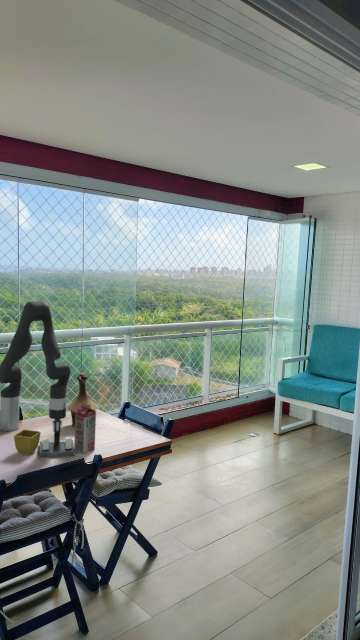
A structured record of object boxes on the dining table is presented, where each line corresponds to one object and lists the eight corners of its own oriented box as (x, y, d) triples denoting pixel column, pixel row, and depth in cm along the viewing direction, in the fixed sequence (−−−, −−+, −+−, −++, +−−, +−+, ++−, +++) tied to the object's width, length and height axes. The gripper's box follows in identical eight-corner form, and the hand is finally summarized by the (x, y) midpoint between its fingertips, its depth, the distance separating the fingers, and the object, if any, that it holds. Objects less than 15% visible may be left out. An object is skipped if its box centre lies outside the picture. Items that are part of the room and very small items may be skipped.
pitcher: (62, 421, 268) (64, 371, 265) (93, 419, 275) (95, 370, 272) (70, 431, 252) (71, 378, 249) (102, 428, 259) (104, 376, 257)
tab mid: (53, 444, 226) (54, 435, 225) (53, 443, 228) (54, 433, 227) (59, 444, 226) (59, 434, 226) (59, 442, 228) (59, 433, 228)
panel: (39, 457, 216) (39, 452, 215) (40, 445, 231) (40, 440, 231) (74, 456, 219) (74, 451, 219) (72, 443, 235) (72, 439, 235)
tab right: (65, 448, 221) (65, 439, 221) (65, 447, 223) (65, 437, 223) (71, 448, 222) (71, 438, 221) (71, 446, 224) (71, 437, 223)
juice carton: (85, 446, 232) (86, 401, 230) (94, 450, 228) (96, 403, 226) (74, 449, 227) (75, 403, 225) (83, 453, 223) (84, 406, 221)
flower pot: (31, 457, 216) (31, 437, 215) (13, 455, 217) (13, 435, 217) (40, 450, 224) (41, 431, 223) (23, 448, 226) (23, 429, 225)
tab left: (42, 449, 218) (42, 439, 218) (42, 448, 220) (42, 438, 220) (48, 449, 219) (48, 439, 219) (48, 447, 221) (48, 438, 221)
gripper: (49, 403, 227) (48, 439, 229) (49, 411, 215) (48, 449, 216) (65, 403, 229) (64, 439, 231) (66, 410, 217) (65, 448, 218)
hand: (56, 444), depth 223 cm, fingers closed
